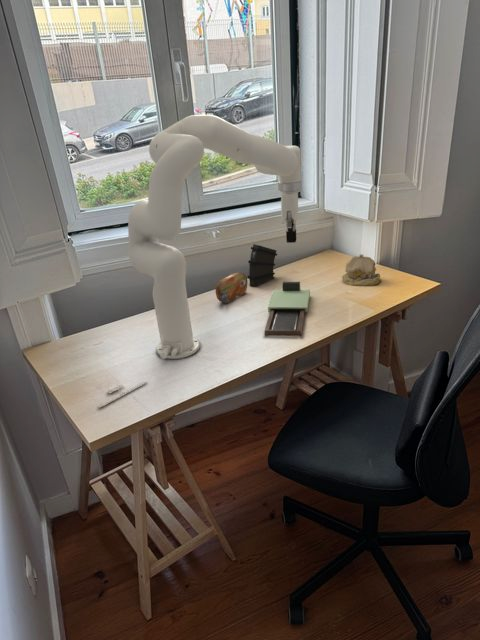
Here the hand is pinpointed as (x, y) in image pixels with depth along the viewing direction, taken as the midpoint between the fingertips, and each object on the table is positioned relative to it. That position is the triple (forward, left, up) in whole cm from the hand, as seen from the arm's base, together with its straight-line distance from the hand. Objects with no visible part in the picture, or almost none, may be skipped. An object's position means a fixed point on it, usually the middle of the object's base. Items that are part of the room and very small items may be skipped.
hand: (291, 241), depth 172 cm
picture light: (-67, +39, -19) cm, 80 cm away
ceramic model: (+12, -25, -19) cm, 33 cm away
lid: (-13, 0, -18) cm, 22 cm away
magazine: (+12, +12, -19) cm, 26 cm away
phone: (-27, 0, -18) cm, 33 cm away
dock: (-20, 0, -19) cm, 28 cm away
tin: (-5, +21, -19) cm, 29 cm away
